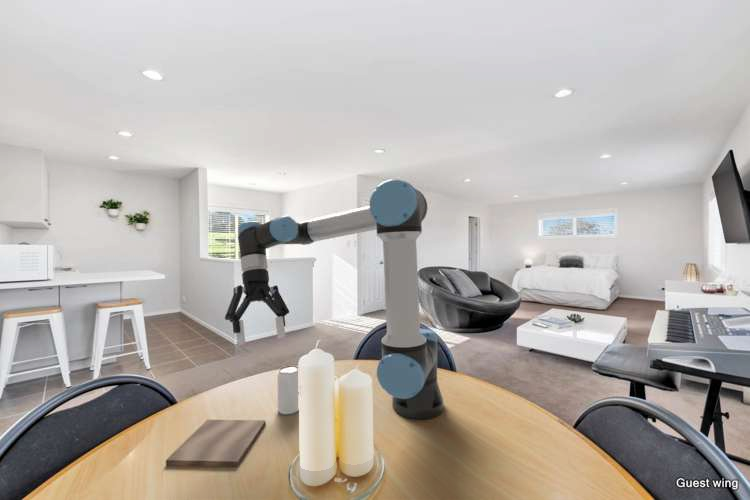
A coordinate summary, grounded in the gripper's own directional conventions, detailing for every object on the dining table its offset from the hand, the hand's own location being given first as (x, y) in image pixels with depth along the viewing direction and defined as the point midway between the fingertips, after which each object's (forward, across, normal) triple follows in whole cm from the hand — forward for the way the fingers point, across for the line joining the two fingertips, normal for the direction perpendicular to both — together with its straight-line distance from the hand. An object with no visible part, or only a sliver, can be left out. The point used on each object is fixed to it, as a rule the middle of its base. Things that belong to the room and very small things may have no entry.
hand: (262, 341), depth 91 cm
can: (+21, -7, -1) cm, 22 cm away
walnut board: (+22, +13, -3) cm, 26 cm away
